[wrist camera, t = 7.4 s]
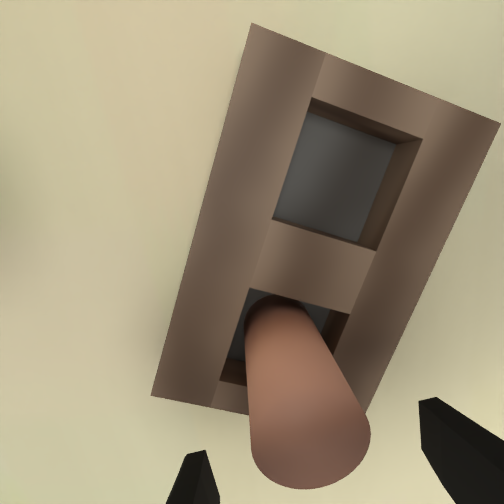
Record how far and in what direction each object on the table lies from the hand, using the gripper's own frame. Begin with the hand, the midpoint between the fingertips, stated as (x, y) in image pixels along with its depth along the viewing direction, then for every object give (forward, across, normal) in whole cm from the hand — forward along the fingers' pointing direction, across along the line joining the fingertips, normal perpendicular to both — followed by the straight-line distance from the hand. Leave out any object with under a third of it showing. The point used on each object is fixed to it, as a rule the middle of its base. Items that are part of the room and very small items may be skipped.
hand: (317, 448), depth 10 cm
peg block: (+9, -2, -4) cm, 10 cm away
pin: (+8, 0, 0) cm, 8 cm away
